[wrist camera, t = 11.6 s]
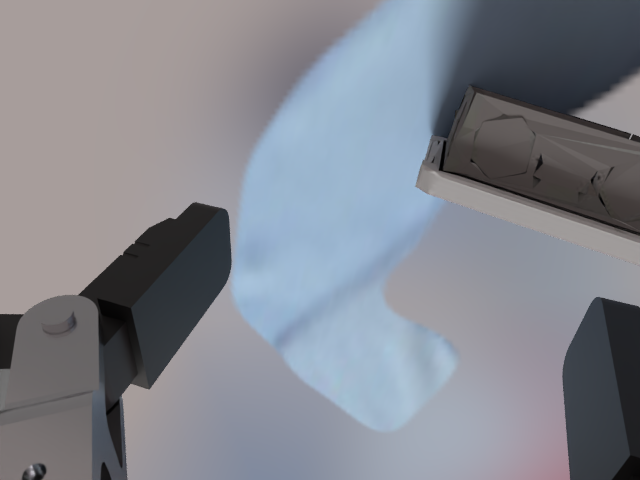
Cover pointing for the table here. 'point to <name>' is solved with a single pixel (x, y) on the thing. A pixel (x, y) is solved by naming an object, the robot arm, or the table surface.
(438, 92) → the table surface
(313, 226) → the table surface
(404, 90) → the table surface
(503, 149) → the electrical switch
